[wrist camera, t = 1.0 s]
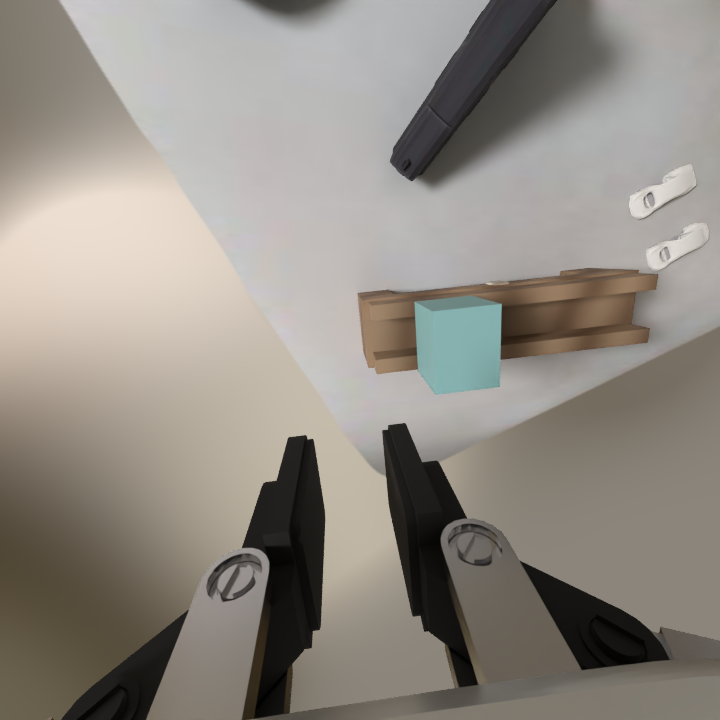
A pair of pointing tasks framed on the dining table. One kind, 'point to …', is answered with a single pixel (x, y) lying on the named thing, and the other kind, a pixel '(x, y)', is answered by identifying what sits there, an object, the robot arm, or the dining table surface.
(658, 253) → the white curved pieces
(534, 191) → the dining table surface
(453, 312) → the teal rectangular block
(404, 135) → the handgun
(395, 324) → the beam
